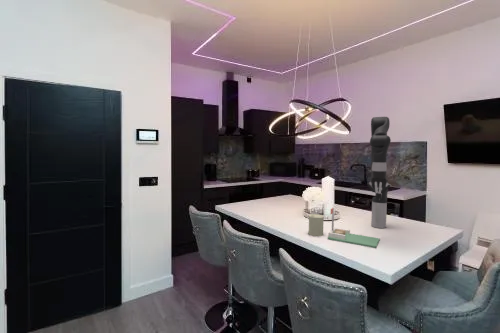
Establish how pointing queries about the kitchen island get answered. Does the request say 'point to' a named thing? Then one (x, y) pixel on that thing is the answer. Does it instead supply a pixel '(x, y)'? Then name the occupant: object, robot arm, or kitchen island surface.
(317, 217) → the can
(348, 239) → the putting green
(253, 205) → the kitchen island surface
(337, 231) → the puck
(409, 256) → the kitchen island surface
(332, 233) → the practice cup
